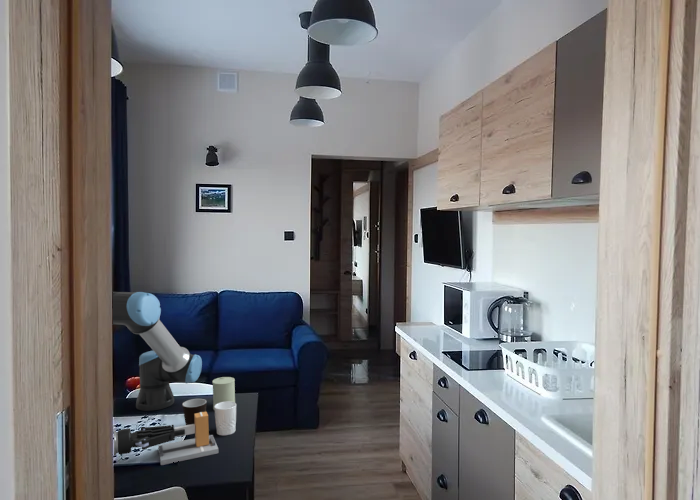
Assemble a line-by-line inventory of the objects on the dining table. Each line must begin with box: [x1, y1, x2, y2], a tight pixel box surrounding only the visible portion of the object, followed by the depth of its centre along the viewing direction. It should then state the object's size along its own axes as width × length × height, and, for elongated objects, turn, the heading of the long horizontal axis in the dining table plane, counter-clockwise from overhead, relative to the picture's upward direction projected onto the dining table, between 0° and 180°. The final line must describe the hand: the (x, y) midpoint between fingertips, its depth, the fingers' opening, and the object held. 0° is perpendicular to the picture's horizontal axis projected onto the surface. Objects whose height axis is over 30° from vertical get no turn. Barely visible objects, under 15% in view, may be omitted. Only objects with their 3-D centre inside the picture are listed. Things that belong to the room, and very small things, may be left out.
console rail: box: [157, 434, 219, 466], centre depth 160 cm, size 12×18×2 cm, turn 115°
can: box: [211, 376, 236, 411], centre depth 200 cm, size 9×9×12 cm
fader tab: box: [194, 411, 210, 447], centre depth 162 cm, size 4×4×10 cm
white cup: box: [213, 401, 237, 436], centre depth 175 cm, size 8×8×10 cm
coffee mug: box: [182, 398, 208, 425], centre depth 180 cm, size 12×9×10 cm
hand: (194, 428), depth 161 cm, fingers closed
